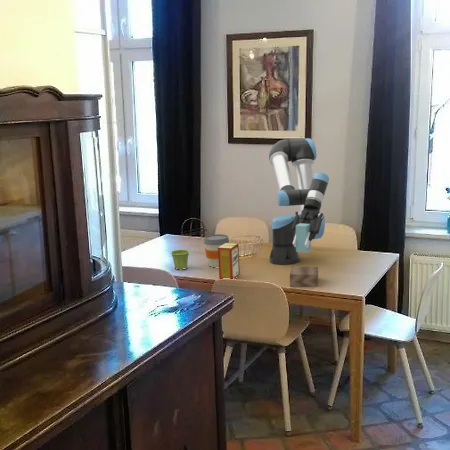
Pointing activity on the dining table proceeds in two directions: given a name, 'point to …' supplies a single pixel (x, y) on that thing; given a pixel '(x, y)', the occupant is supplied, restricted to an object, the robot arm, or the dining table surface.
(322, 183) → the robot arm
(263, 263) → the dining table surface
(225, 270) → the baking soda box
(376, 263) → the dining table surface
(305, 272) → the walnut block
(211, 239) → the reusable coffee cup
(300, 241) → the teal wooden block
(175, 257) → the plant pot
